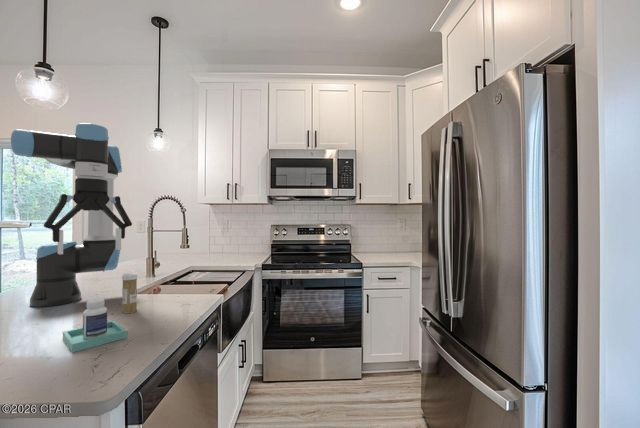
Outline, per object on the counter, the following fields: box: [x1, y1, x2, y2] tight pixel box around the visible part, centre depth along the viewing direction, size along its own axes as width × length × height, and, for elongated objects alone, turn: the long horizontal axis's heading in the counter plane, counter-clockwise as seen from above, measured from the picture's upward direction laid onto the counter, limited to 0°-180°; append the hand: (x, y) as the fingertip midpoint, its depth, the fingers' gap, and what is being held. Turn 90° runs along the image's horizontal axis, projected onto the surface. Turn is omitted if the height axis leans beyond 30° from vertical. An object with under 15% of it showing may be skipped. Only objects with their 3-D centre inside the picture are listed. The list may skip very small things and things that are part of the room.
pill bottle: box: [82, 298, 108, 339], centre depth 83 cm, size 5×5×10 cm
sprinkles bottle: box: [121, 272, 138, 314], centre depth 105 cm, size 5×5×14 cm
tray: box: [62, 320, 128, 353], centre depth 82 cm, size 12×12×2 cm
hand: (91, 251), depth 86 cm, fingers open, 13 cm apart
